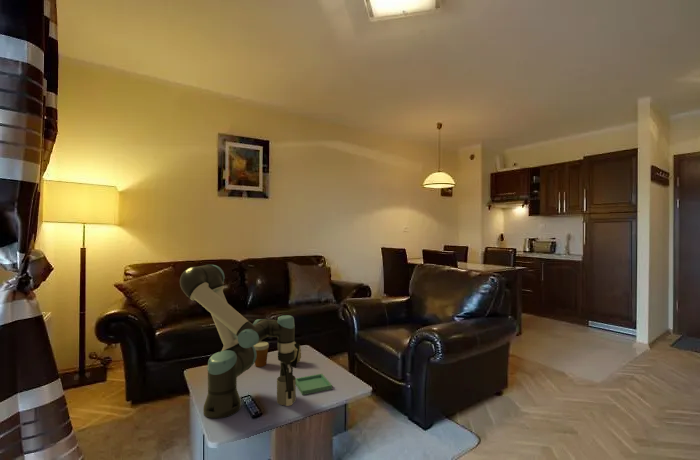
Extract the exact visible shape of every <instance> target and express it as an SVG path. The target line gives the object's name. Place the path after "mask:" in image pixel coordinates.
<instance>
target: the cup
mask: <svg viewBox="0 0 700 460" xmlns="http://www.w3.org/2000/svg"><path fill="white" fill-rule="evenodd" d="M296 378H297V377H296V376H295V375H293V386H294V391H292V404H294V403H295V402H296V401H297V398H296V397H297V394H296V391H297V389H296V388H297V386H296ZM286 390H287V389H286V379H285V376H280V375H279V376H278V377H277V378H276V403H277V404H278V405H280V406H286V392H285V391H286Z"/></svg>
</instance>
